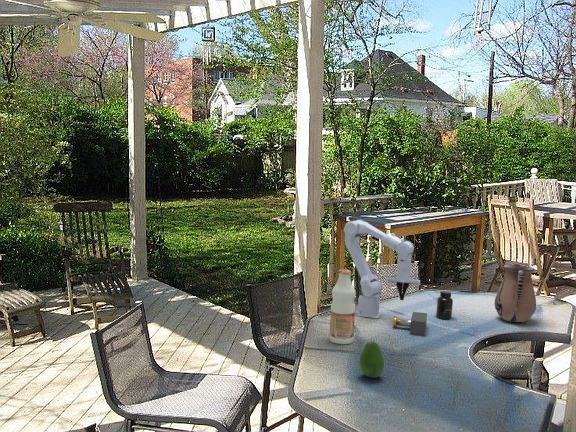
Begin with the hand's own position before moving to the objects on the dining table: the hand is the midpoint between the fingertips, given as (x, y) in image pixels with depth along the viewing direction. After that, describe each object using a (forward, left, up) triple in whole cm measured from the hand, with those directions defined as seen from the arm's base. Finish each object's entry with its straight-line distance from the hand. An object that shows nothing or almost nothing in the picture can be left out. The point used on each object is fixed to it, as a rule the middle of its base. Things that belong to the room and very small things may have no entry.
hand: (401, 299), depth 261 cm
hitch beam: (+8, -10, -10) cm, 16 cm away
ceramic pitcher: (+49, +21, -10) cm, 55 cm away
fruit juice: (-20, -36, -10) cm, 42 cm away
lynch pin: (+4, -10, -9) cm, 14 cm away
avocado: (-4, -69, -10) cm, 70 cm away
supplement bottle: (+18, +14, -10) cm, 25 cm away
